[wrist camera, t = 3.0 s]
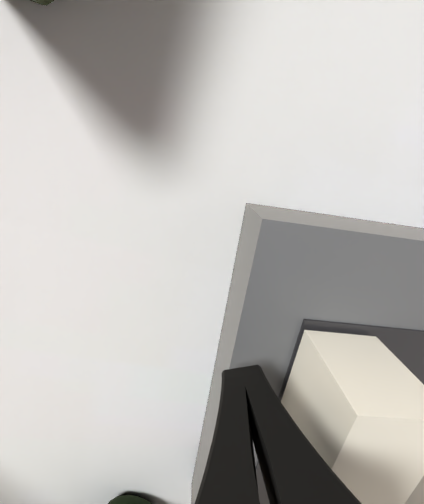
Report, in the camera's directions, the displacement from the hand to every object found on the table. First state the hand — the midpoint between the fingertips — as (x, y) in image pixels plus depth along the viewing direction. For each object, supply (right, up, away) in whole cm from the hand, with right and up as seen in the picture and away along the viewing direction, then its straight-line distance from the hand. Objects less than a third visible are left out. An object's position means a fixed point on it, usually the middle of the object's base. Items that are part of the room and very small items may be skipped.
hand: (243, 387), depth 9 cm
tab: (+4, 0, +1) cm, 4 cm away
